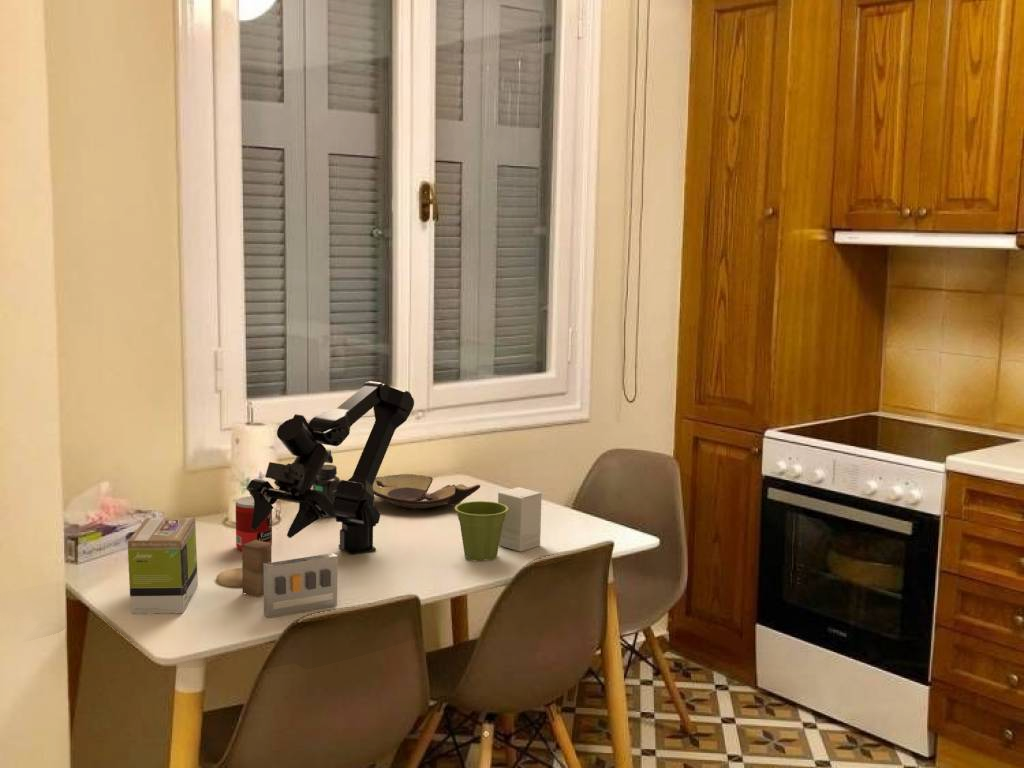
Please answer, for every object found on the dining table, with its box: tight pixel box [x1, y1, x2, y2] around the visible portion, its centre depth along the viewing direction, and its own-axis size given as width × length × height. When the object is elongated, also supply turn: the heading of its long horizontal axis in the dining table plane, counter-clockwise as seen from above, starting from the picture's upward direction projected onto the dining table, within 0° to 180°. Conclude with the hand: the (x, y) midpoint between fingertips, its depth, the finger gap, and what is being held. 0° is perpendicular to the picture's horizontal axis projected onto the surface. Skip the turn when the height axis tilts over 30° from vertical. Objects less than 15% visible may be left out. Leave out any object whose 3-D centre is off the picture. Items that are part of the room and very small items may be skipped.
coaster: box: [216, 567, 242, 588], centre depth 231 cm, size 10×10×1 cm
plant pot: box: [454, 500, 508, 562], centre depth 249 cm, size 12×12×11 cm
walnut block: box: [241, 540, 273, 598], centre depth 222 cm, size 4×4×10 cm
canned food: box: [235, 495, 273, 553], centre depth 250 cm, size 8×8×11 cm
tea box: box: [127, 516, 199, 615], centre depth 216 cm, size 15×10×15 cm, turn 5°
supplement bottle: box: [312, 464, 341, 518], centre depth 278 cm, size 7×7×12 cm
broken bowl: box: [373, 473, 481, 509], centre depth 287 cm, size 22×30×8 cm
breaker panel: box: [263, 552, 338, 619], centre depth 213 cm, size 14×3×10 cm, turn 122°
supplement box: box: [497, 486, 543, 552], centre depth 257 cm, size 7×7×13 cm
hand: (270, 532), depth 225 cm, fingers open, 9 cm apart
